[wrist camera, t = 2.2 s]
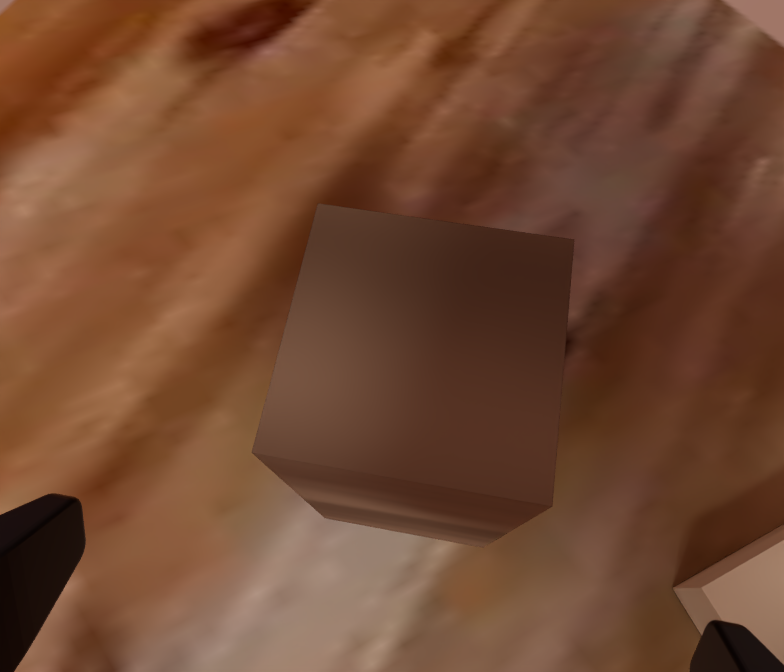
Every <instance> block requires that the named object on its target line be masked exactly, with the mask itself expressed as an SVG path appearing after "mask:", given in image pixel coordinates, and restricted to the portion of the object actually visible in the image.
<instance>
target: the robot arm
mask: <svg viewBox="0 0 784 672" xmlns="http://www.w3.org/2000/svg"><path fill="white" fill-rule="evenodd" d="M85 543H86V538H85V529H84V521H83V512H82V505H81V502H80V501H79V499H77V498H76V497H72V496H67V495H61V494H56V493H52V494H48V495H45V496H42V497H40V498H38V499H36V500H33V501H31V502H29V503H26V504H24V505H22V506H20V507H17V508H15V509H13V510H10V511H8V512H6V513H4V514H1V515H0V672H14V671H15V669H16V668H17V666H18V665H19V663H20V662H21V660H22V659H23V657H24V656H25V654H26V653H27V651H28V650H29V648H30V646H31V645H32V643H33V641H34V640H35V638H36V636H37V635H38V633H39V631H40V629H41V628H42V626H43V624H44V622H45V621H46V619H47V617H48V615H49V614H50V612H51V610H52V608H53V607H54V605H55V603H56V601H57V600H58V598H59V596H60V594H61V593H62V591H63V589H64V587H65V586H66V584H67V582H68V580H69V579H70V577H71V575H72V573H73V572H74V570H75V568H76V566H77V565H78V563H79V561H80V559H81V557H82V555H83V552H84V549H85ZM690 672H784V664H783V663H782V662H781V661H780V660H779V659H778V658H777V657H776V656H775V655H774V654H773V653H772V652H771V651H770V650H769V649H768V648H767V647H766V646H765V645H764V644H763V643H762V642H761V641H760V640H759V639H758V638H757V637H756V636H755V635H754V634H753V633H752V632H751V631H749V630H748V629H747V628H746V627H744V626H743V625H740V624H736V623H731V622H726V621H720V620H712V621H710V622H709V623H708V624H707V625H706V627H705V629H704V632H703V634H702V636H701V639H700V641H699V643H698V646H697V648H696V650H695V653H694V655H693V657H692V660H691V664H690Z"/></svg>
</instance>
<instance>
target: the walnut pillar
mask: <svg viewBox="0 0 784 672" xmlns="http://www.w3.org/2000/svg"><path fill="white" fill-rule="evenodd" d="M573 249H574V239H566V238H559V237H552V236H545V235H538V234H531V233H524V232H517V231H510V230H503V229H496V228H488V227H481V226H474V225H467V224H460V223H453V222H446V221H439V220H432V219H425V218H418V217H410V216H403V215H396V214H389V213H382V212H375V211H368V210H361V209H354V208H347V207H340V206H332V205H325V204H318V205H317V209H316V212H315V216H314V220H313V224H312V228H311V231H310V235H309V239H308V243H307V246H306V250H305V254H304V258H303V261H302V265H301V269H300V273H299V276H298V280H297V284H296V288H295V292H294V295H293V299H292V303H291V307H290V310H289V314H288V318H287V322H286V325H285V329H284V333H283V337H282V340H281V344H280V348H279V352H278V355H277V359H276V363H275V367H274V371H273V374H272V378H271V382H270V386H269V389H268V393H267V397H266V401H265V404H264V408H263V412H262V416H261V419H260V423H259V427H258V431H257V435H256V438H255V442H254V446H253V450H252V453H253V454H254V455H255V456H256V457H257V458H258V459H259V460H261V461H262V462H263V463H264V464H265V465H266V466H267V467H268V468H270V469H271V470H272V471H273V472H274V473H275V474H276V475H277V476H278V477H280V478H281V479H282V480H283V481H284V482H285V483H286V484H287V485H289V486H290V487H291V488H292V489H293V490H294V491H295V492H296V493H297V494H299V495H300V496H301V497H302V498H303V499H304V500H305V501H306V502H307V503H309V504H310V505H311V506H312V507H313V508H314V509H315V510H316V511H318V512H319V513H320V514H321V515H322V516H323V517H324V518H327V519H333V520H338V521H343V522H349V523H354V524H359V525H365V526H370V527H375V528H381V529H386V530H392V531H397V532H402V533H408V534H413V535H418V536H424V537H429V538H434V539H440V540H445V541H450V542H456V543H461V544H467V545H472V546H477V547H485V546H486V545H488V544H490V543H491V542H493V541H495V540H497V539H498V538H500V537H502V536H503V535H505V534H507V533H508V532H510V531H512V530H513V529H515V528H517V527H518V526H520V525H522V524H523V523H525V522H527V521H529V520H530V519H532V518H534V517H535V516H537V515H539V514H540V513H542V512H544V511H545V510H547V509H549V508H550V507H552V504H553V492H554V480H555V468H556V456H557V443H558V431H559V419H560V407H561V395H562V383H563V371H564V358H565V346H566V334H567V322H568V310H569V298H570V286H571V273H572V261H573Z"/></svg>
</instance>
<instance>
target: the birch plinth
mask: <svg viewBox="0 0 784 672" xmlns="http://www.w3.org/2000/svg"><path fill="white" fill-rule="evenodd" d="M672 589H673V590H674V592H675V593H676V595H677V597H678V598H679V600H680V602H681V603H682V605H683V606H684V608H685V610H686V611H687V613H688V614H689V616H690V618H691V619H692V621H693V623H694V624H695V626H696V627H697V629H698V631H699V632H700V634H701V635H702V634H703V632H704V629H705V627H706V625H707V624H708V623H709V622H710V621H712V620H720V621H726V622H731V623H736V624H740V625H743V626H744V627H746V628H747V629H748V630H749V631H751V632H752V633H753V634H754V635H755V636H756V637H757V638H758V639H759V640H760V641H761V642H762V643H763V644H764V645H765V646H766V647H767V648H768V649H769V650H770V651H771V652H772V653H773V654H774V655H775V656H776V657H777V658H778V659H779V660H780V661H781V662H782V663H783V664H784V524H783V525H782V526H780V527H778V528H776V529H775V530H773V531H771V532H769V533H768V534H766V535H764V536H762V537H761V538H759V539H757V540H755V541H754V542H752V543H750V544H748V545H747V546H745V547H743V548H741V549H740V550H738V551H736V552H734V553H733V554H731V555H729V556H728V557H726V558H724V559H722V560H721V561H719V562H717V563H715V564H714V565H712V566H710V567H708V568H707V569H705V570H703V571H701V572H700V573H698V574H696V575H694V576H693V577H691V578H689V579H687V580H686V581H684V582H682V583H680V584H679V585H677V586H675V587H674V588H672Z"/></svg>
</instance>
